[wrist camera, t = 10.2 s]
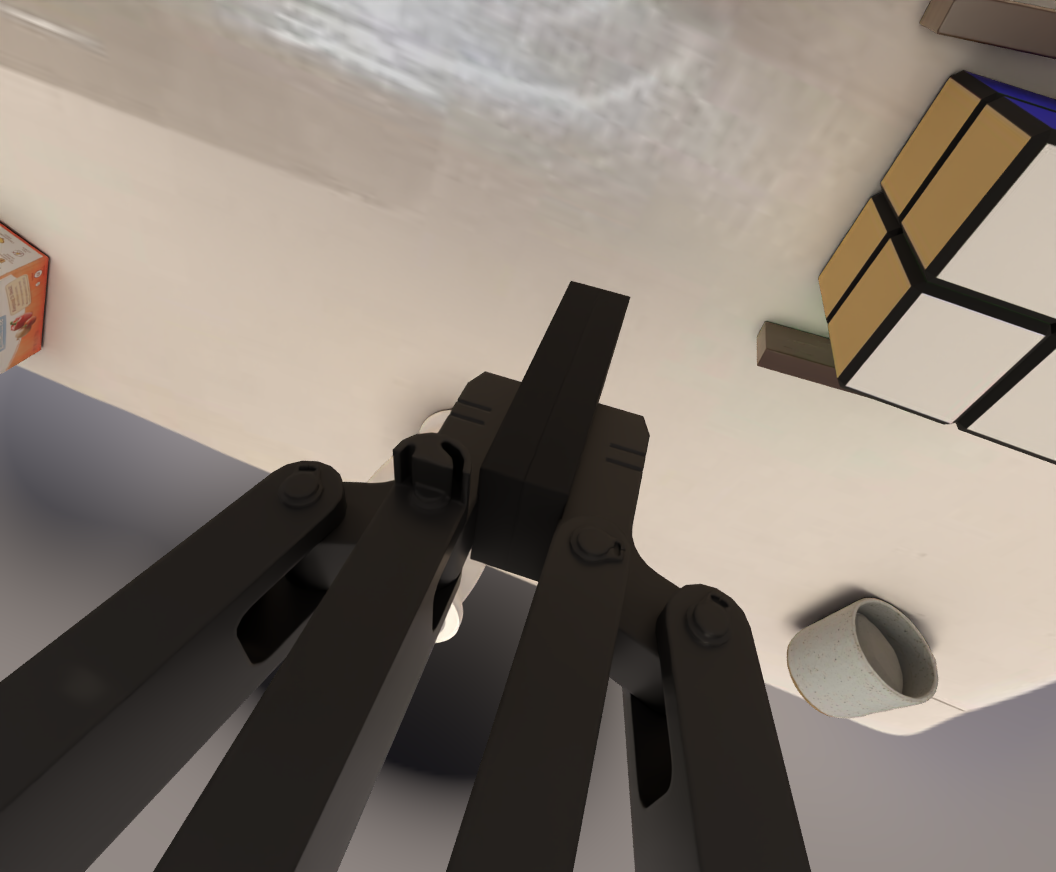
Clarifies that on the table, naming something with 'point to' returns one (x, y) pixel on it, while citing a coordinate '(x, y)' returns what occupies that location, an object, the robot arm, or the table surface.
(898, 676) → the ceramic mug
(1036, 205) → the puzzle cube
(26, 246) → the cracker box
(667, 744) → the robot arm
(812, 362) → the bay
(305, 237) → the table surface
